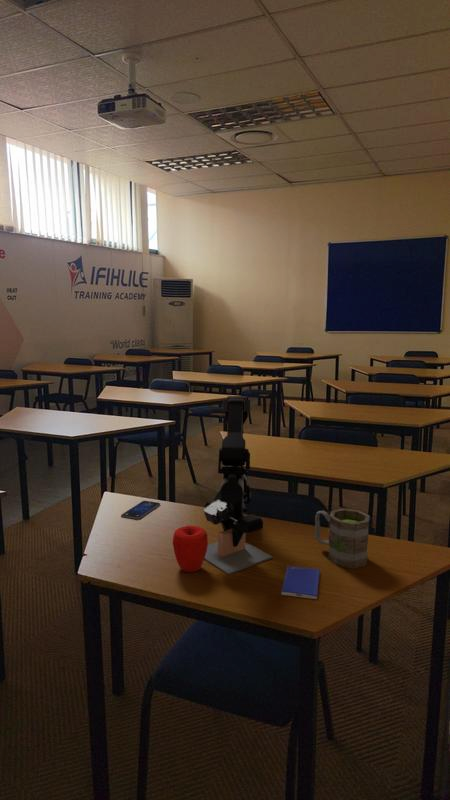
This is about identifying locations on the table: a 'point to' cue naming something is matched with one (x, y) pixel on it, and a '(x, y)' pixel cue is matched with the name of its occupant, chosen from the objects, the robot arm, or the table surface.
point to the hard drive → (301, 582)
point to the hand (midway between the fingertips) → (232, 544)
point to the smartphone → (140, 510)
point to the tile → (229, 543)
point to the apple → (190, 547)
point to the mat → (235, 558)
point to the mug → (345, 537)
